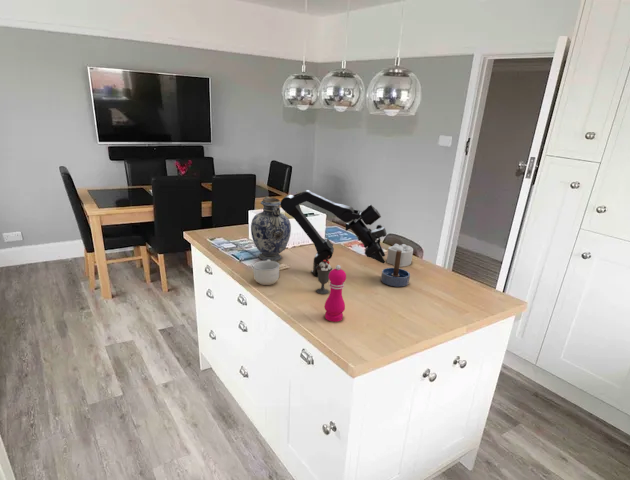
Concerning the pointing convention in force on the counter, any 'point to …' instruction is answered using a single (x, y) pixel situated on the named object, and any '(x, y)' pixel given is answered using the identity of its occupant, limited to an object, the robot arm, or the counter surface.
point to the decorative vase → (270, 230)
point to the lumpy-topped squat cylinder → (405, 255)
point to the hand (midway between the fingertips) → (384, 259)
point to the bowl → (395, 281)
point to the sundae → (323, 275)
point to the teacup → (266, 272)
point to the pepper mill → (335, 295)
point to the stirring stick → (397, 264)
